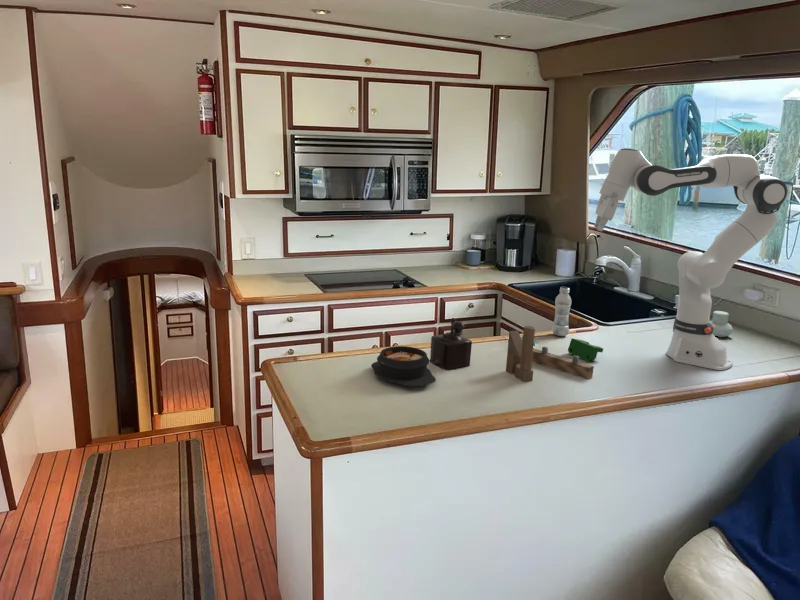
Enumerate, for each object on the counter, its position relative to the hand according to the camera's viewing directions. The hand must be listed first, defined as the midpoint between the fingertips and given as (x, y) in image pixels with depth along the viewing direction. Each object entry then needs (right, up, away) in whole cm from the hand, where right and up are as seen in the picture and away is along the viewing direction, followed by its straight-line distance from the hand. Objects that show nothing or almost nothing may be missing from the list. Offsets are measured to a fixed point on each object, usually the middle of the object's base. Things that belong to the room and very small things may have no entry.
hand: (597, 229), depth 228 cm
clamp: (-3, -47, +4) cm, 47 cm away
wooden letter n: (-32, -51, -18) cm, 63 cm away
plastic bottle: (-6, -40, +29) cm, 50 cm away
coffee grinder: (-53, -49, -11) cm, 73 cm away
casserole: (-71, -51, -23) cm, 90 cm away
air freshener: (+63, -41, +39) cm, 84 cm away
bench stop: (-16, -49, -9) cm, 53 cm away
